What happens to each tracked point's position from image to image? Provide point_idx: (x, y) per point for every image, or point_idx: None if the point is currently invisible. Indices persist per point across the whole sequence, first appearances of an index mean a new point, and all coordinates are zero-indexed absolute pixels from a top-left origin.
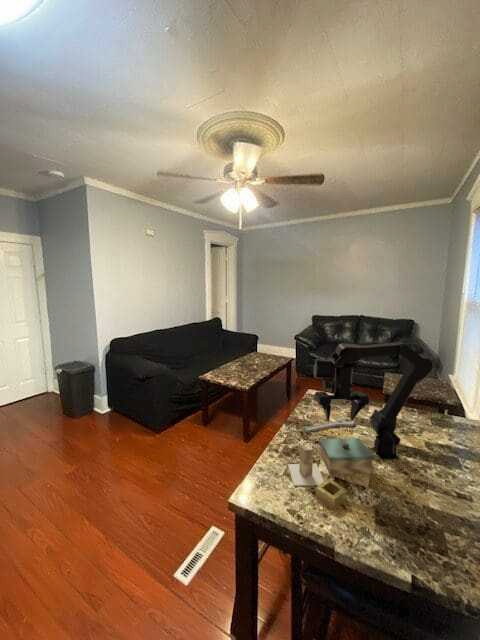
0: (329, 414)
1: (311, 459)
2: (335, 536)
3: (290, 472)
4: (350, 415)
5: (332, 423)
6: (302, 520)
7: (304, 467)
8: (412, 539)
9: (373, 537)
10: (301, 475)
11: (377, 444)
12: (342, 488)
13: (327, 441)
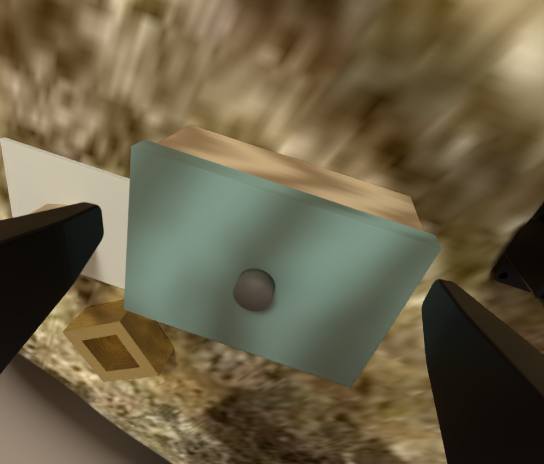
0: (10, 348)
1: None
2: (99, 393)
3: (10, 193)
4: (453, 314)
5: None
6: (34, 343)
7: None
8: (256, 456)
9: (178, 424)
10: None
11: (535, 287)
12: (147, 367)
13: (174, 191)
